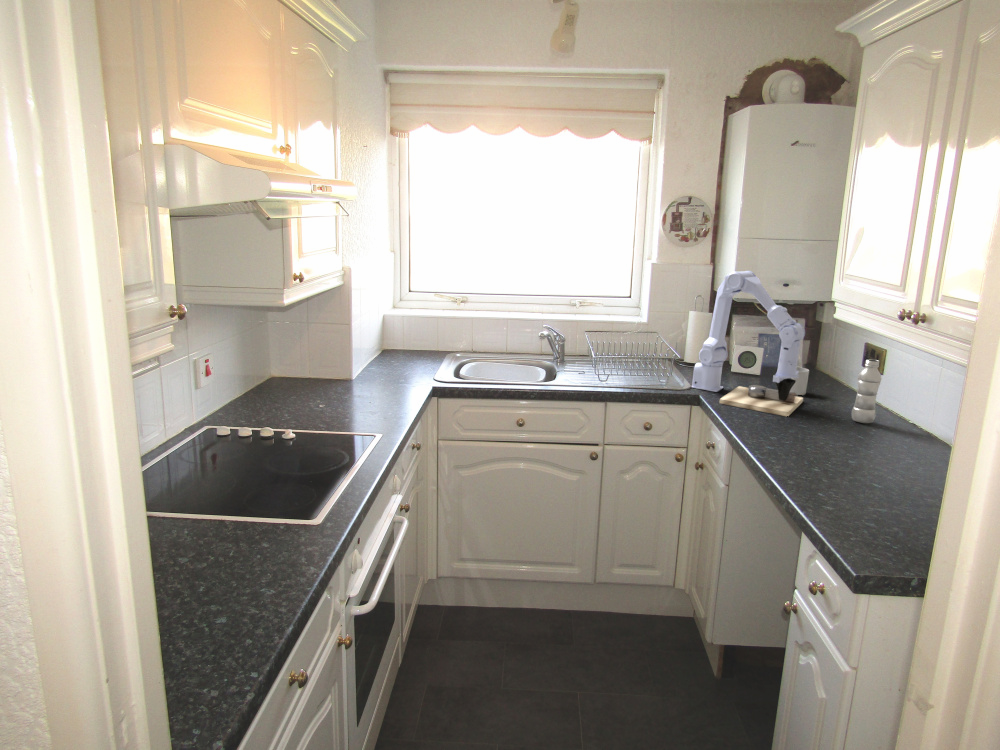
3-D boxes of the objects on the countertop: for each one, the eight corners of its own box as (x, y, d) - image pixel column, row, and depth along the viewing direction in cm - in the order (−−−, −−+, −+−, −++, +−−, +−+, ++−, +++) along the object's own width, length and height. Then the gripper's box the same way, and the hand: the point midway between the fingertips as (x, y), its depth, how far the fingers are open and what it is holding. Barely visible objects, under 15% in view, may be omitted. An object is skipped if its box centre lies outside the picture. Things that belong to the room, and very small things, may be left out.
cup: (809, 396, 244) (812, 371, 242) (781, 395, 244) (784, 370, 242) (800, 390, 251) (803, 367, 249) (773, 389, 251) (776, 366, 249)
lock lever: (745, 396, 234) (746, 387, 233) (750, 392, 239) (751, 384, 238) (792, 404, 226) (793, 395, 225) (795, 400, 231) (797, 391, 230)
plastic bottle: (876, 426, 212) (888, 363, 207) (853, 424, 213) (864, 361, 208) (870, 420, 218) (881, 359, 213) (847, 418, 219) (857, 357, 214)
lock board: (719, 403, 230) (719, 398, 230) (738, 390, 248) (738, 386, 248) (787, 416, 218) (788, 412, 218) (802, 401, 236) (803, 397, 236)
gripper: (790, 365, 217) (784, 406, 220) (809, 360, 227) (803, 399, 230) (769, 361, 222) (763, 401, 225) (789, 356, 232) (783, 394, 235)
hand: (782, 400), depth 228 cm, fingers closed
